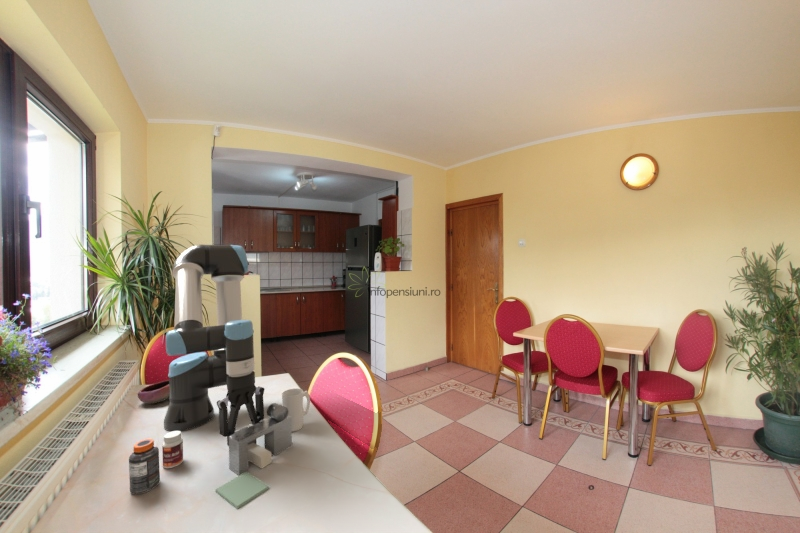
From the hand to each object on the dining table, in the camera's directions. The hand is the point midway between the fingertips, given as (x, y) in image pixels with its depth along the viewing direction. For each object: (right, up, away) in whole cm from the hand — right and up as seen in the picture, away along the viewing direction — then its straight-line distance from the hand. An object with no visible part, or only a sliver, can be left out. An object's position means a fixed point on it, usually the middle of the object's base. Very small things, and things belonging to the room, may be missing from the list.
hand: (243, 451), depth 95 cm
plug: (+3, 0, -2) cm, 4 cm away
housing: (+7, 0, -2) cm, 7 cm away
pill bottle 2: (-18, -1, -5) cm, 18 cm away
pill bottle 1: (-18, -1, -14) cm, 23 cm away
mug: (+11, 0, +16) cm, 19 cm away
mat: (+7, 0, -16) cm, 18 cm away
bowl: (-53, -1, +39) cm, 66 cm away
